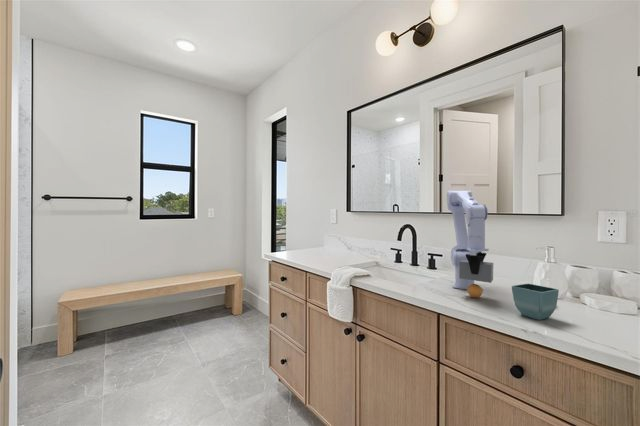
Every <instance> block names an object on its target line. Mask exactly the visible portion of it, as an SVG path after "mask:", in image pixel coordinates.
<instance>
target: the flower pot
mask: <svg viewBox="0 0 640 426" xmlns="http://www.w3.org/2000/svg"><path fill="white" fill-rule="evenodd" d="M511 291H512V292H511V293H512V297H513V302H514V305H515V307H516V309H517V311H518V312H519V313H520V315H521V316H525V317H527V318H531V319H535V320H537V321H541V320H545V319H549V318H550V317H551V316H552V314H553V313H554V312H555V310H556V308H557V305H558V298H559V297H558V296H559V292H560V291H559V288H553V287H548V286H545V285H543V286H542V285H537V284H533V283H523V284H521V283H520V284H517V285H516V284H515V285H511Z"/></svg>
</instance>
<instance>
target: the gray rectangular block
mask: <svg viewBox="0 0 640 426" xmlns="http://www.w3.org/2000/svg"><path fill="white" fill-rule="evenodd" d="M459 278H461V279H468V280H474V282H483V283H489V284H492V282H493V281H494V262H491V261H490V262H489V261H483V262H481V263H480V267H479V273H478V275H477V274H471V270H470V265H469V262H468V260H461V261H460V269H459Z"/></svg>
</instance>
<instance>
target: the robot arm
mask: <svg viewBox="0 0 640 426" xmlns="http://www.w3.org/2000/svg"><path fill="white" fill-rule="evenodd" d="M446 205H447V209H448V210H449V211H450V212H451V214H452V216H453V217H452V218H453V224H454V232H455V239H456V240H455V241H456V244H455V245H454V246H453V247H452V248H451V250H450V254H451V255H450V260H451V265H452V266H454V268H455V269H454V270H455V272H454V273H455V274H454V279H455V280H454V281H455V282H454V285H452V288H454V289H460V290H466V291H468V290H467V289H468V287H469V286H470V285H471V284H475V280H468V279H461V278H459V269H460V261H461V260H468V262H469V265H470V270H471V274H477V275H478V273H479V267H480V263H481V262H484V261H485V258H486V256H487V252H489V248H486V220H487V218H488V215H489V214H488V213H489V210H488V207H487V205H486V204H480V203H479V202H478V201H477V200H476V199H475V198H474V197H473V192H472V191H471V190H470V189H469V190H450V189H449V190H448V191H447V193H446Z"/></svg>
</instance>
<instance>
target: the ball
mask: <svg viewBox="0 0 640 426" xmlns="http://www.w3.org/2000/svg"><path fill="white" fill-rule="evenodd" d="M466 291H467V293H468V295H469V296H470V297H472V298H475V299H476V298H481V296H482V295H483V288H482V287H481V286H480V285H479V284H476V283H474V284H471V285H470V286H469V287H468V289H467V290H466Z"/></svg>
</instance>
